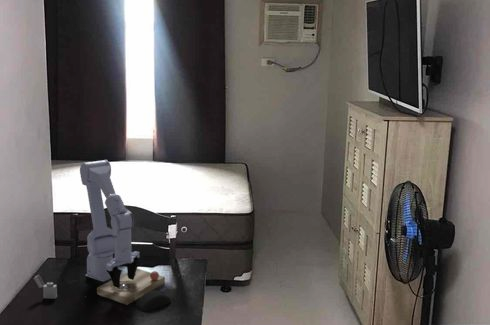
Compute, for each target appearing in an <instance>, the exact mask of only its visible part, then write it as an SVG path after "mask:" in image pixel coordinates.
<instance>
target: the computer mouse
mask: <svg viewBox="0 0 490 325" xmlns="http://www.w3.org/2000/svg"><path fill="white" fill-rule="evenodd" d="M171 301H172V299H171V297H170V296H169V295H167V294H166V293H165V292H163V291H160V290H156V289H154V290H152V291H150V292H147V293H146V294H144V295H143V296H142V297H140V298H138V299H137V300H136V303H135V307H136V308H137V309H138V310H140V311H141V312H149V311H152V310H154V309H157V308H159V307H162V306H165V305H168V303H169V304H170V303H171Z"/></svg>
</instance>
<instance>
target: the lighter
mask: <svg viewBox="0 0 490 325" xmlns="http://www.w3.org/2000/svg"><path fill="white" fill-rule="evenodd" d="M33 280H34V281H35V283H36V284H37V286H38V288H39V289H40V288H42V290H43V299H50V300H51V299H52V300H54V299H55V300H56V299H57V298H58V286H57V284H54V282H46V284H45V282H44V281H43V279H42V277H41V276H40V274H37V275H35V276H34V277H33Z"/></svg>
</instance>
